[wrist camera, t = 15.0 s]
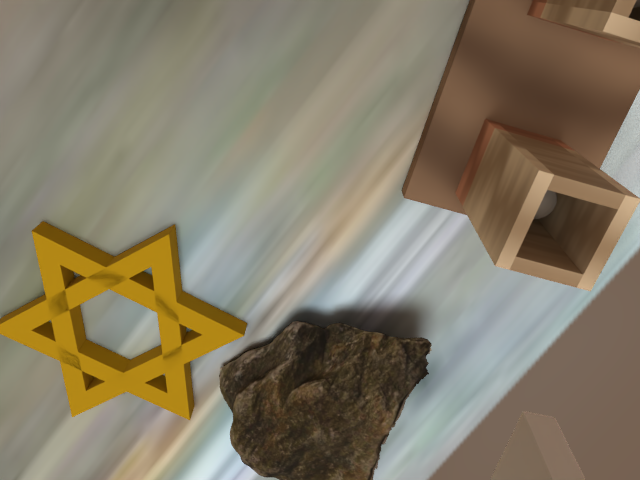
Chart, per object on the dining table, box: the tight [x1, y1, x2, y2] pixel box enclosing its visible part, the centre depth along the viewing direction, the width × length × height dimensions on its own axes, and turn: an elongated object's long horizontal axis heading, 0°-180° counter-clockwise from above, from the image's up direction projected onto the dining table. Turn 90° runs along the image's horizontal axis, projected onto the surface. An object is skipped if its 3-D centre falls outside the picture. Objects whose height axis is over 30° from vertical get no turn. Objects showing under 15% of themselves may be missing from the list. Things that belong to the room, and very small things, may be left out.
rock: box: [219, 321, 431, 480], centre depth 46 cm, size 18×10×15 cm
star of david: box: [0, 221, 247, 420], centre depth 46 cm, size 20×17×2 cm
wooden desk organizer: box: [402, 0, 640, 291], centre depth 33 cm, size 20×12×12 cm, turn 164°
